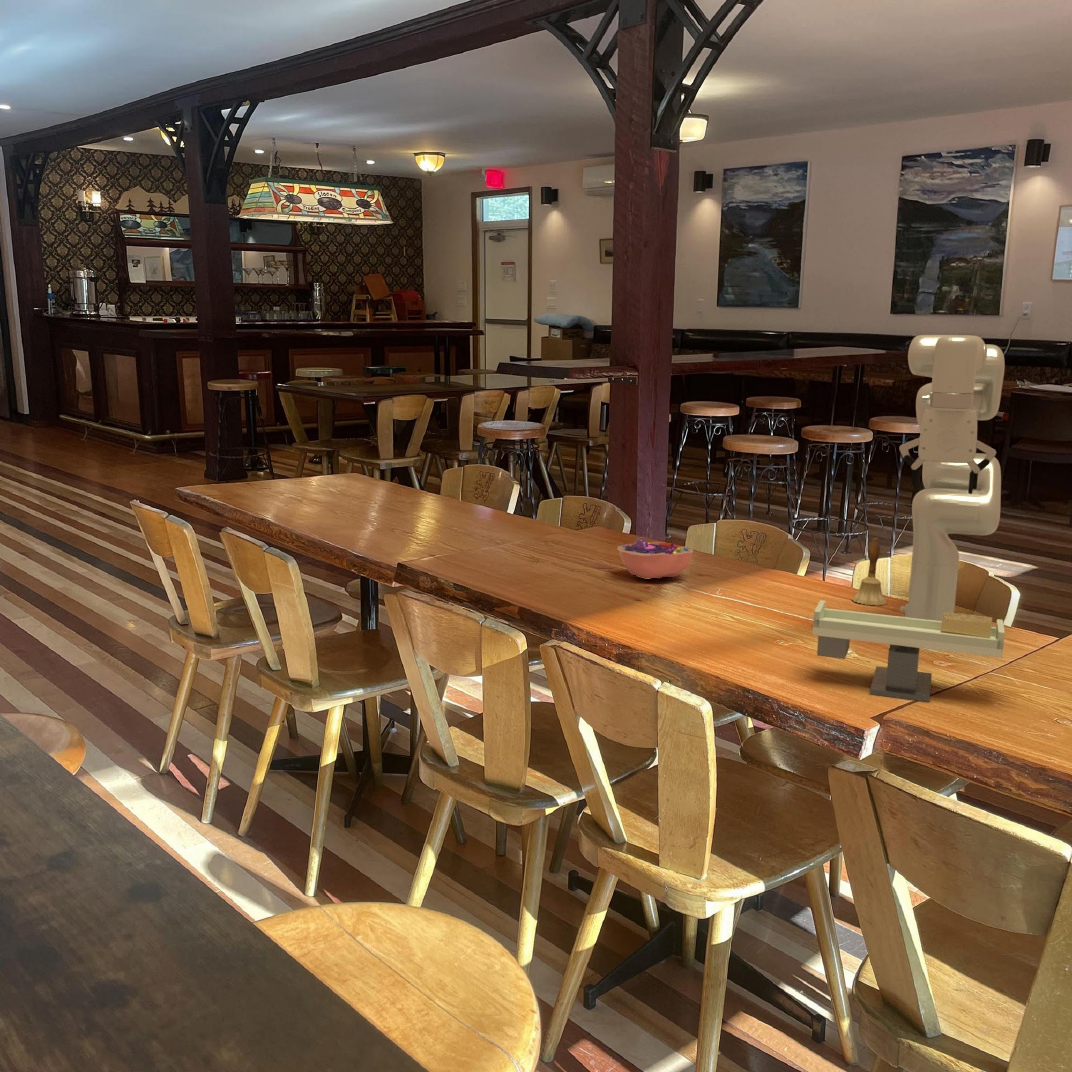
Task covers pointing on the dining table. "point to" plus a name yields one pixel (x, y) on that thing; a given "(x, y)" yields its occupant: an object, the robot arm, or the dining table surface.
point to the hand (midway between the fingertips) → (943, 491)
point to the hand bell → (871, 581)
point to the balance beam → (895, 633)
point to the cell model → (655, 558)
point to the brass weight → (966, 624)
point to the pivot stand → (902, 676)
